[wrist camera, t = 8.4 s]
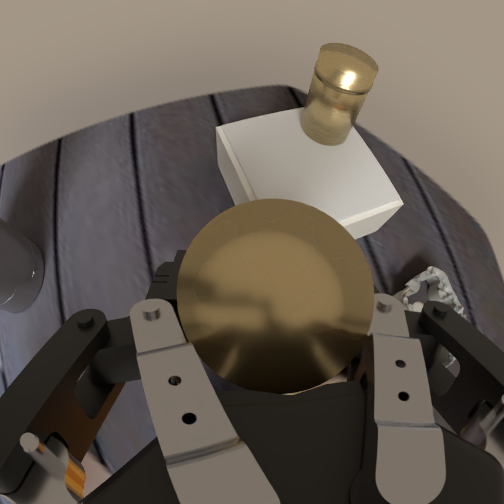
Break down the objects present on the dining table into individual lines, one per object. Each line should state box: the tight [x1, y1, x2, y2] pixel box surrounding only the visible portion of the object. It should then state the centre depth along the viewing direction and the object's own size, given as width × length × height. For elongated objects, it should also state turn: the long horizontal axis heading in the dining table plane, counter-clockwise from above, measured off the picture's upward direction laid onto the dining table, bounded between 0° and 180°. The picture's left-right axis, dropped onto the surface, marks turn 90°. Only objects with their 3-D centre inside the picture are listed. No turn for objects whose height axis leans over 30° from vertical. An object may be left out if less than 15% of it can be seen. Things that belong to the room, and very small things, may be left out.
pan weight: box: [301, 43, 378, 146], centre depth 24 cm, size 5×5×9 cm
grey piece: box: [393, 266, 466, 368], centre depth 27 cm, size 11×8×4 cm
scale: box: [216, 107, 403, 240], centre depth 30 cm, size 14×15×7 cm
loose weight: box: [177, 199, 374, 394], centre depth 11 cm, size 5×5×9 cm
